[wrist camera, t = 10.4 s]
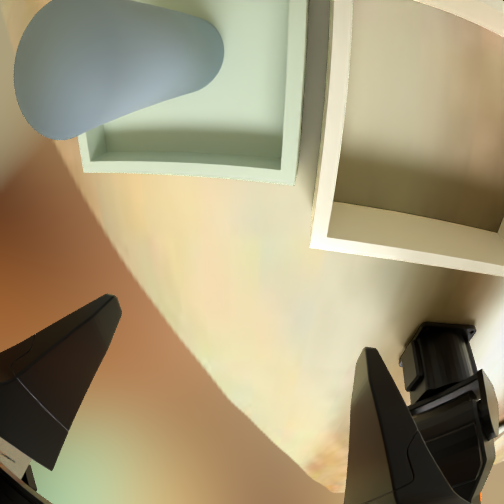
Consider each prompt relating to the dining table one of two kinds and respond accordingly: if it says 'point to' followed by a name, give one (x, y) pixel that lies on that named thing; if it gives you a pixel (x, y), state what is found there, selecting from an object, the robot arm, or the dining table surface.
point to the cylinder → (108, 62)
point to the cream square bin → (379, 220)
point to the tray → (221, 103)
